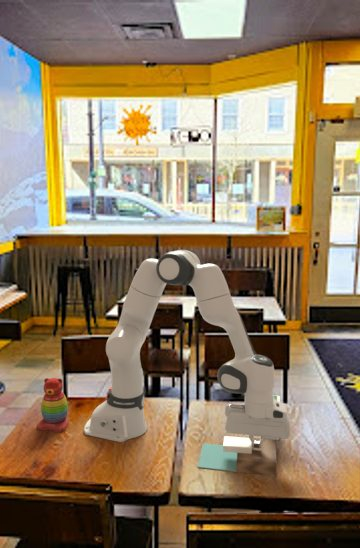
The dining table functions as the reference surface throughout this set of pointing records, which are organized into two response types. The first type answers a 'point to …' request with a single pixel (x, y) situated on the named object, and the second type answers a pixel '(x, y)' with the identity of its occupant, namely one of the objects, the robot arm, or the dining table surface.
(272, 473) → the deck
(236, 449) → the cream rectangular block
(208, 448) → the mat
